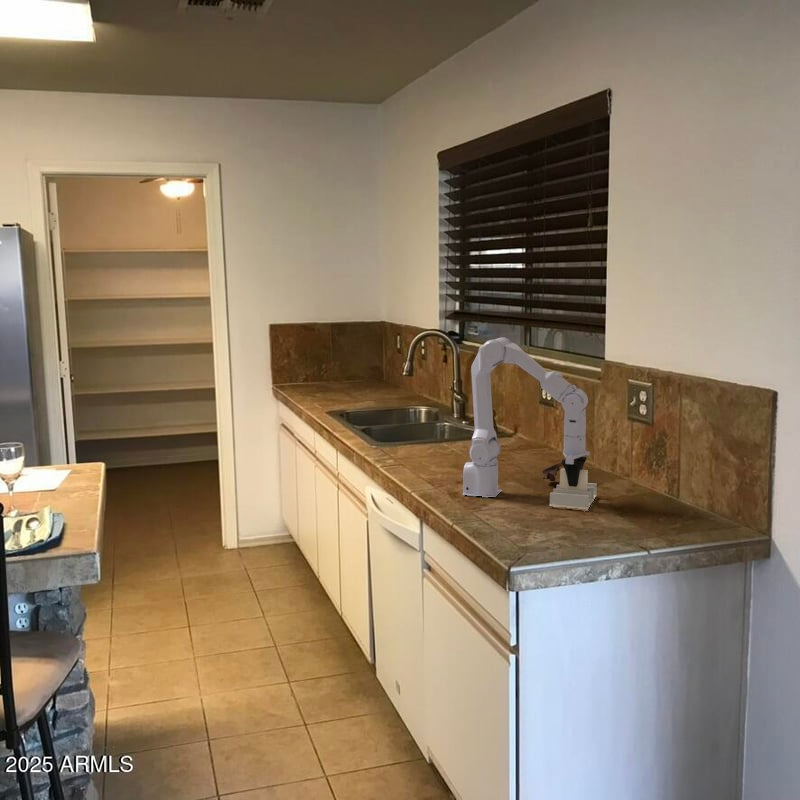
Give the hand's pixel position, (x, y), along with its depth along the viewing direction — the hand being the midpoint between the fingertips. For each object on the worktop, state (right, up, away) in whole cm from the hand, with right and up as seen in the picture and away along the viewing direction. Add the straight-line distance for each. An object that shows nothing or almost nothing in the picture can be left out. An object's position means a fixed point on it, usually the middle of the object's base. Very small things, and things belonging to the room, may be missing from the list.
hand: (573, 484), depth 233 cm
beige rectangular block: (0, -4, +1) cm, 4 cm away
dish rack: (0, -5, +1) cm, 5 cm away
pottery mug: (+1, -2, +20) cm, 20 cm away
